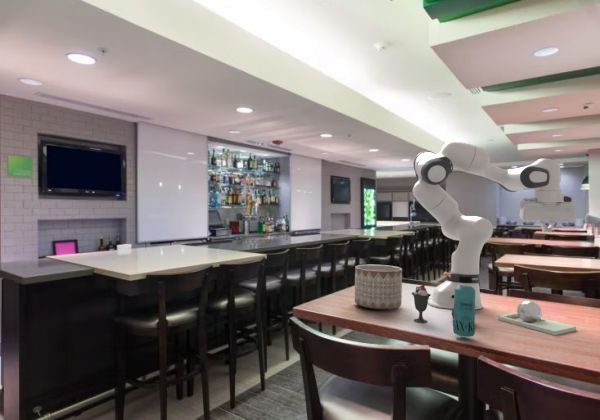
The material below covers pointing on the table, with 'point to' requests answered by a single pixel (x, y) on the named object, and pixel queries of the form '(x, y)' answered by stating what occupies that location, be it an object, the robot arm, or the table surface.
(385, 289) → the planter
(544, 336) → the table surface
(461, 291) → the beverage bottle
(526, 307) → the steel ball
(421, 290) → the sundae
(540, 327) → the hole plate
